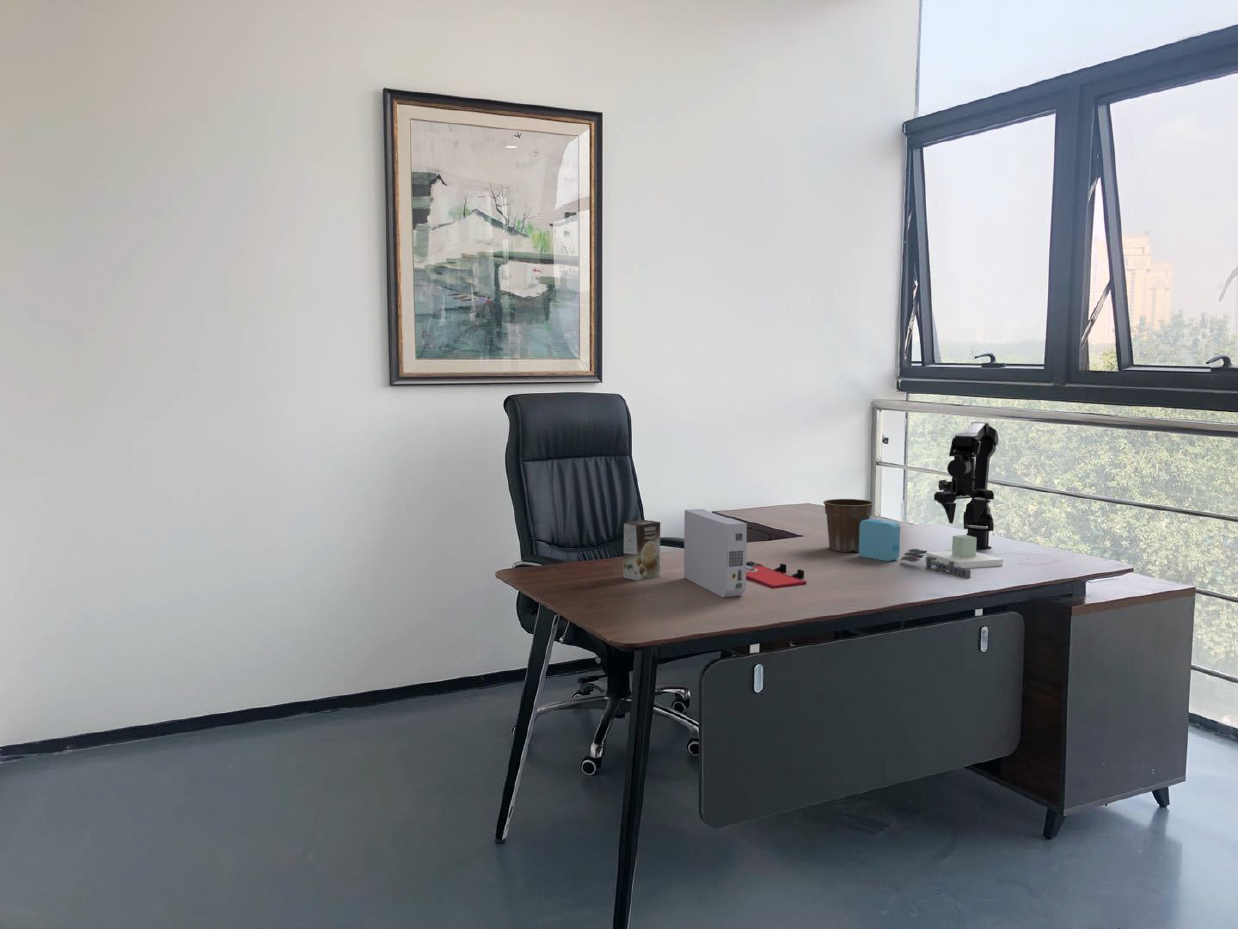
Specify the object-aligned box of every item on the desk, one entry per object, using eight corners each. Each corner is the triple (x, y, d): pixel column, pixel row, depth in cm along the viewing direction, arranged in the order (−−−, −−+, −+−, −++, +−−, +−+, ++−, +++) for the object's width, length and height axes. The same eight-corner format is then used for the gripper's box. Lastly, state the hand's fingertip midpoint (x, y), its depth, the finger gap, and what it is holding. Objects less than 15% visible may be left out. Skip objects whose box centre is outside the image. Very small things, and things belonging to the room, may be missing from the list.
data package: (899, 560, 292) (900, 522, 291) (891, 562, 289) (893, 524, 288) (866, 554, 301) (867, 518, 299) (858, 556, 298) (859, 519, 296)
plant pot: (815, 550, 307) (816, 502, 305) (831, 543, 320) (832, 497, 319) (863, 556, 298) (865, 506, 297) (878, 548, 312) (879, 500, 310)
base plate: (968, 555, 299) (968, 549, 298) (1002, 565, 283) (1002, 559, 283) (926, 558, 294) (926, 552, 294) (958, 568, 279) (958, 562, 279)
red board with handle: (756, 563, 287) (715, 568, 280) (756, 554, 287) (715, 559, 280) (817, 585, 260) (773, 591, 254) (817, 575, 260) (773, 581, 253)
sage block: (965, 553, 292) (966, 535, 291) (975, 556, 287) (976, 537, 286) (951, 554, 290) (952, 535, 290) (962, 557, 285) (963, 538, 285)
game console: (702, 576, 268) (702, 508, 266) (746, 598, 243) (747, 523, 241) (683, 578, 266) (684, 509, 264) (726, 599, 241) (727, 524, 239)
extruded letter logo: (900, 563, 288) (901, 546, 287) (904, 563, 288) (904, 545, 288) (966, 579, 266) (967, 560, 265) (970, 578, 267) (971, 559, 266)
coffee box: (638, 581, 262) (638, 525, 260) (622, 577, 267) (622, 522, 265) (660, 576, 268) (660, 521, 267) (644, 573, 273) (644, 519, 271)
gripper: (972, 469, 303) (971, 516, 305) (923, 472, 297) (922, 520, 299) (995, 473, 292) (994, 522, 294) (945, 476, 287) (944, 526, 289)
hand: (963, 522), depth 294 cm, fingers open, 9 cm apart
